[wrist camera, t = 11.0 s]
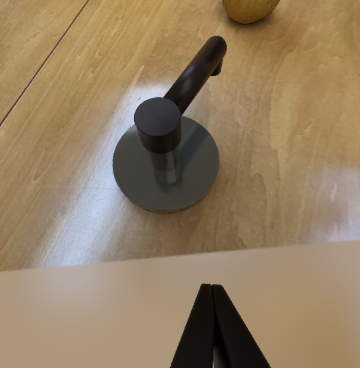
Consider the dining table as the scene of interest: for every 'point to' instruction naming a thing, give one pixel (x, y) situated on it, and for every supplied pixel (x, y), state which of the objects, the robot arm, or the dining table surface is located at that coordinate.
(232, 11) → the fruit
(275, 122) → the dining table surface
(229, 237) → the dining table surface
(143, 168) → the faucet base
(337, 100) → the dining table surface
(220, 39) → the spout
